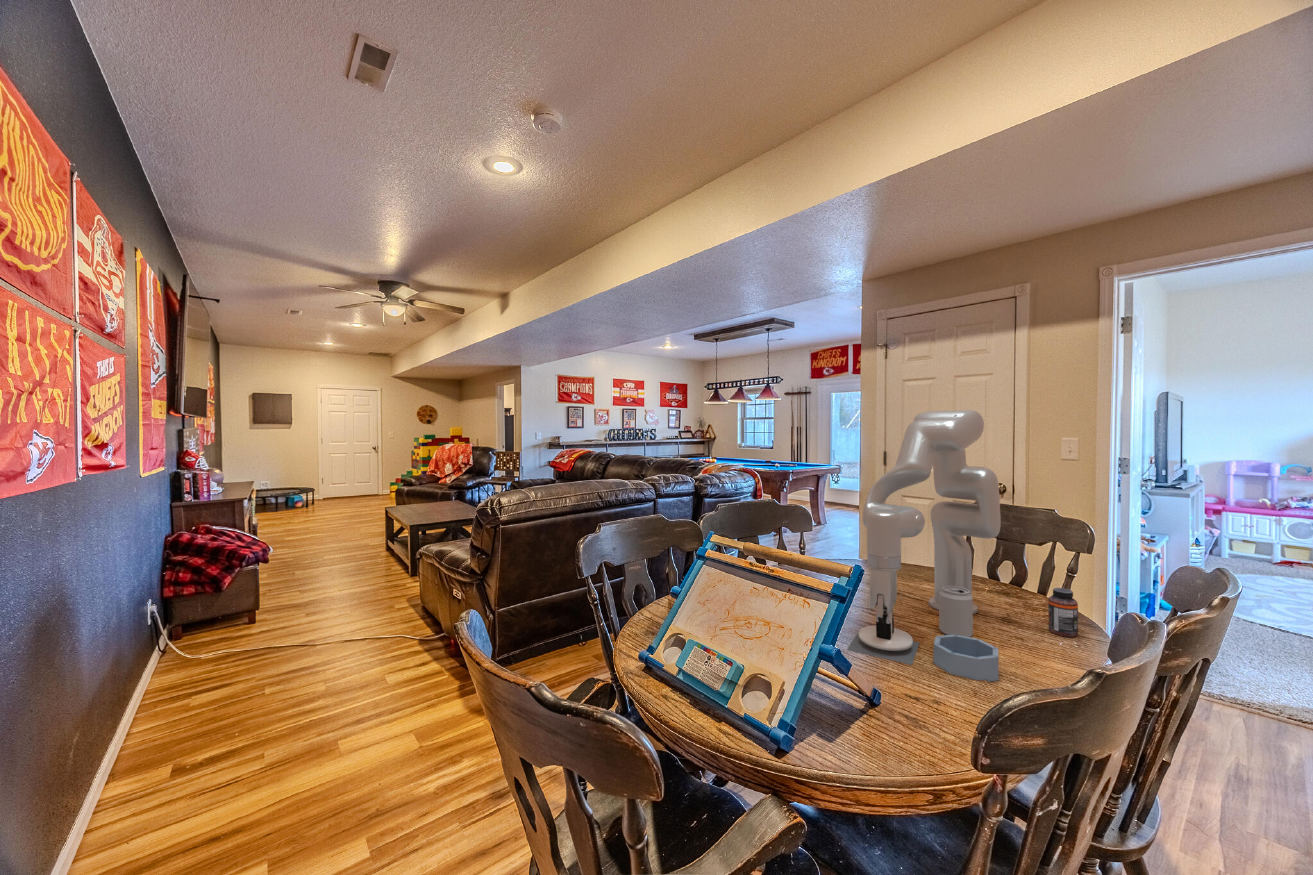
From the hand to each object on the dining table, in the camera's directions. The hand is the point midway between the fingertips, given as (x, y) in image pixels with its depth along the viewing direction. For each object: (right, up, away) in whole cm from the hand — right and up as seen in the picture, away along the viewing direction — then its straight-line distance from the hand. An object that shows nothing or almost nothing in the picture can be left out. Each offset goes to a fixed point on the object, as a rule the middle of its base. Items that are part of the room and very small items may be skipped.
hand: (885, 634), depth 121 cm
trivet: (-1, -3, 0) cm, 3 cm away
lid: (0, -1, 0) cm, 1 cm away
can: (+22, -3, +7) cm, 23 cm away
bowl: (+13, -3, -11) cm, 17 cm away
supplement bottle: (+50, -3, +8) cm, 50 cm away
